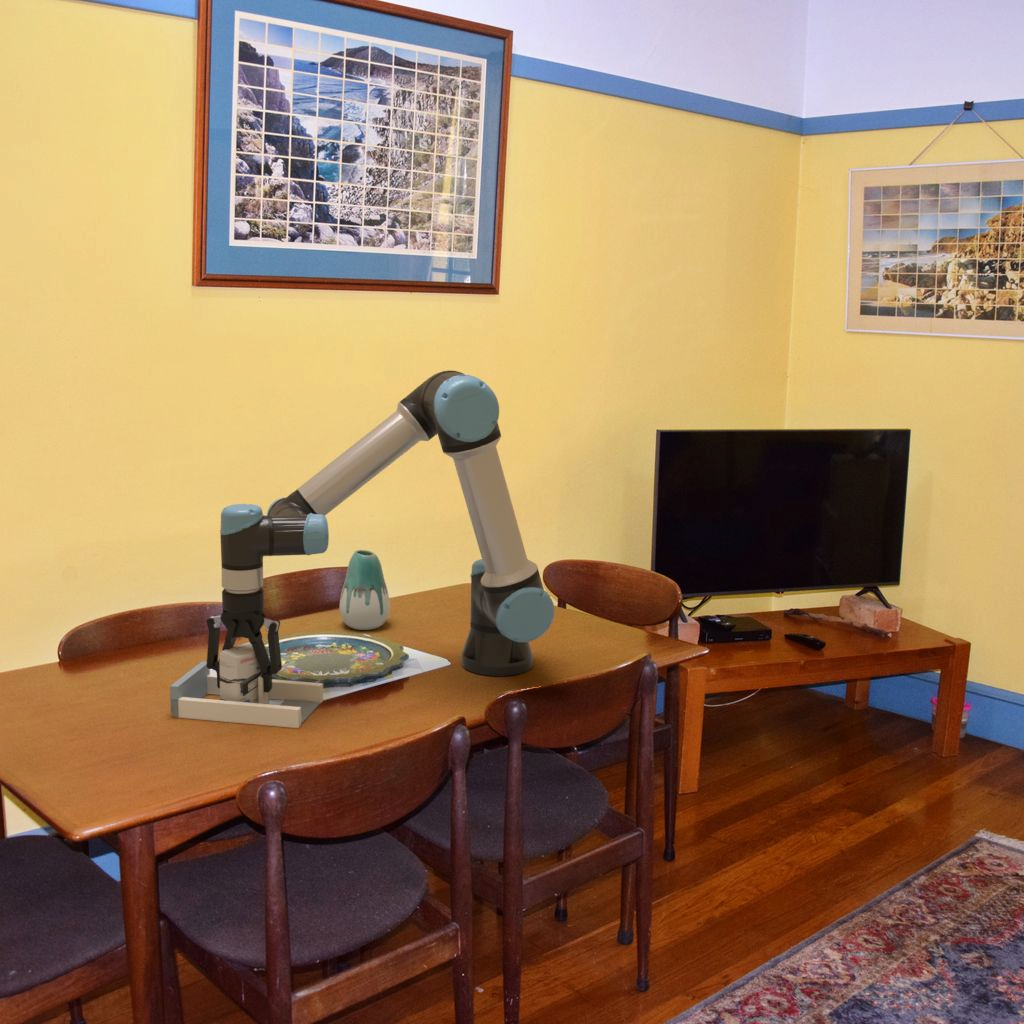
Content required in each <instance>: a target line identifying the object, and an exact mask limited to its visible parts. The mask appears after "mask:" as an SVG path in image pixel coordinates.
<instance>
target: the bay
mask: <svg viewBox="0 0 1024 1024" xmlns="http://www.w3.org/2000/svg"><path fill="white" fill-rule="evenodd" d="M169 686H170V687H169V691H170V692H169V694H170V695H169V696H170V717H171V718H179V719H180V718H181V719H190V720H201V721H202V720H203V721H210V722H211V721H212V722H213V721H214V722H224V723H237V724H246V725H247V724H248V725H249V724H250V725H256V726H257V725H260V726H268V727H269V726H270V727H280V728H293V729H299V728H301V726H302V724H301V707H294V706H282V705H280V704H270V703H269V704H259V703H248V702H236V701H224V700H220V699H210V698H204V697H205V696H206V695H207V694H208V695H218V696H220V688H218V686H217V674H215V673H214V674H213V673H211V669H208V668H207V661H205V660H204V661H203V660H202V661H201V662H200V663H198V664H197V665H196V666H193V668H191V669H190V670H189V671H188V672H186V673H185V674H184V675H182V676H181V677H180V678H178V679H177V680H176V681H175V682H174V683H172V684H171V685H169ZM269 700H275V701H277V700H278V701H284V700H295V701H307V702H318V703H320V704H322V703H323V701H324V683H322V682H321V683H320V682H311V681H309V682H308V681H300V680H299V681H298V680H296V681H295V680H285V679H284V680H283V679H274V678H272V689H271V691H269Z"/></svg>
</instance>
